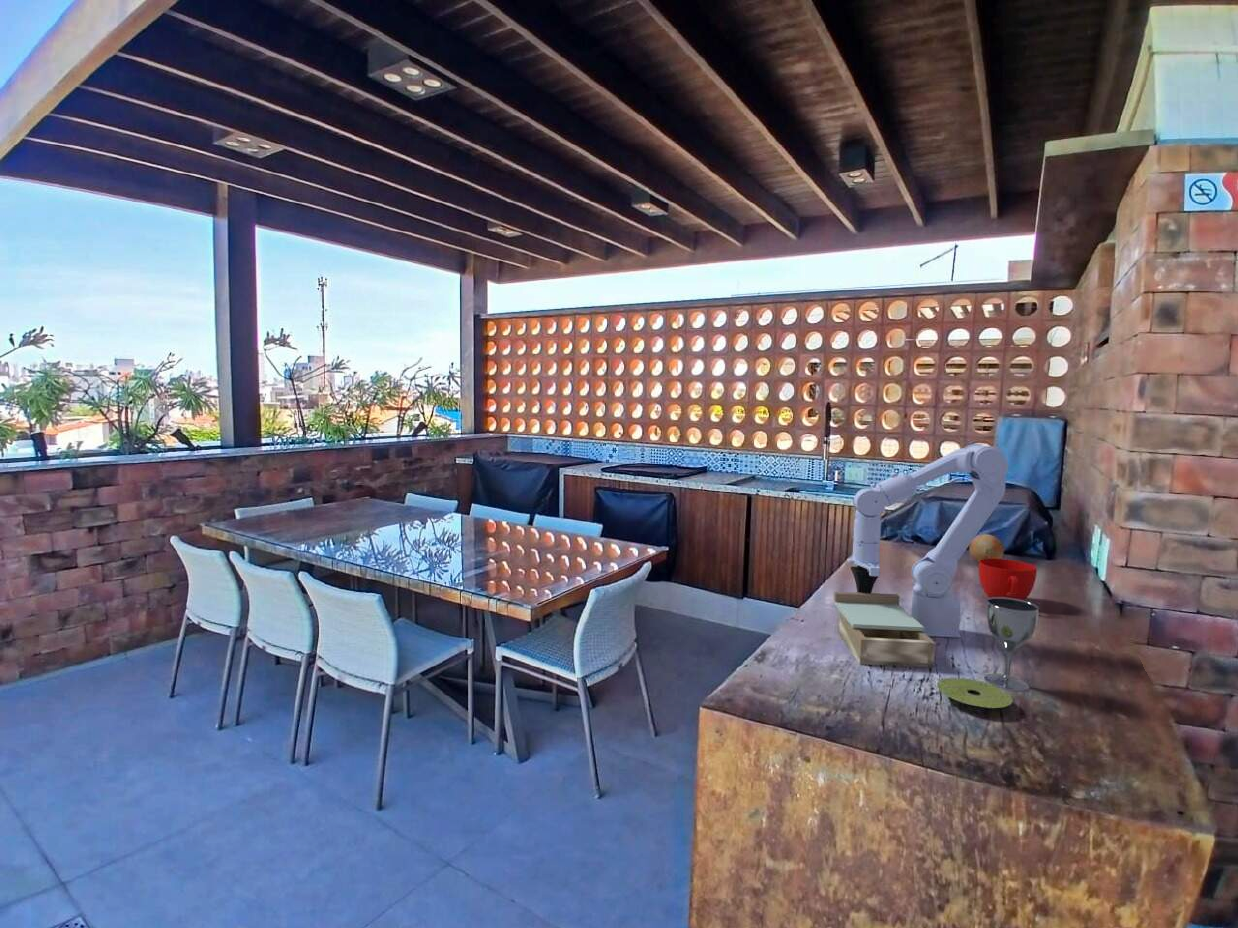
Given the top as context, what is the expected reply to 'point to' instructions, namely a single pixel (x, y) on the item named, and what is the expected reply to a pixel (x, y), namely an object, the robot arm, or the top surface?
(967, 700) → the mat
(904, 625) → the lid
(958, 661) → the top surface
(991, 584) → the ceramic cup
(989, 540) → the onion
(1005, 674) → the wine glass
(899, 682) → the top surface
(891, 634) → the box
